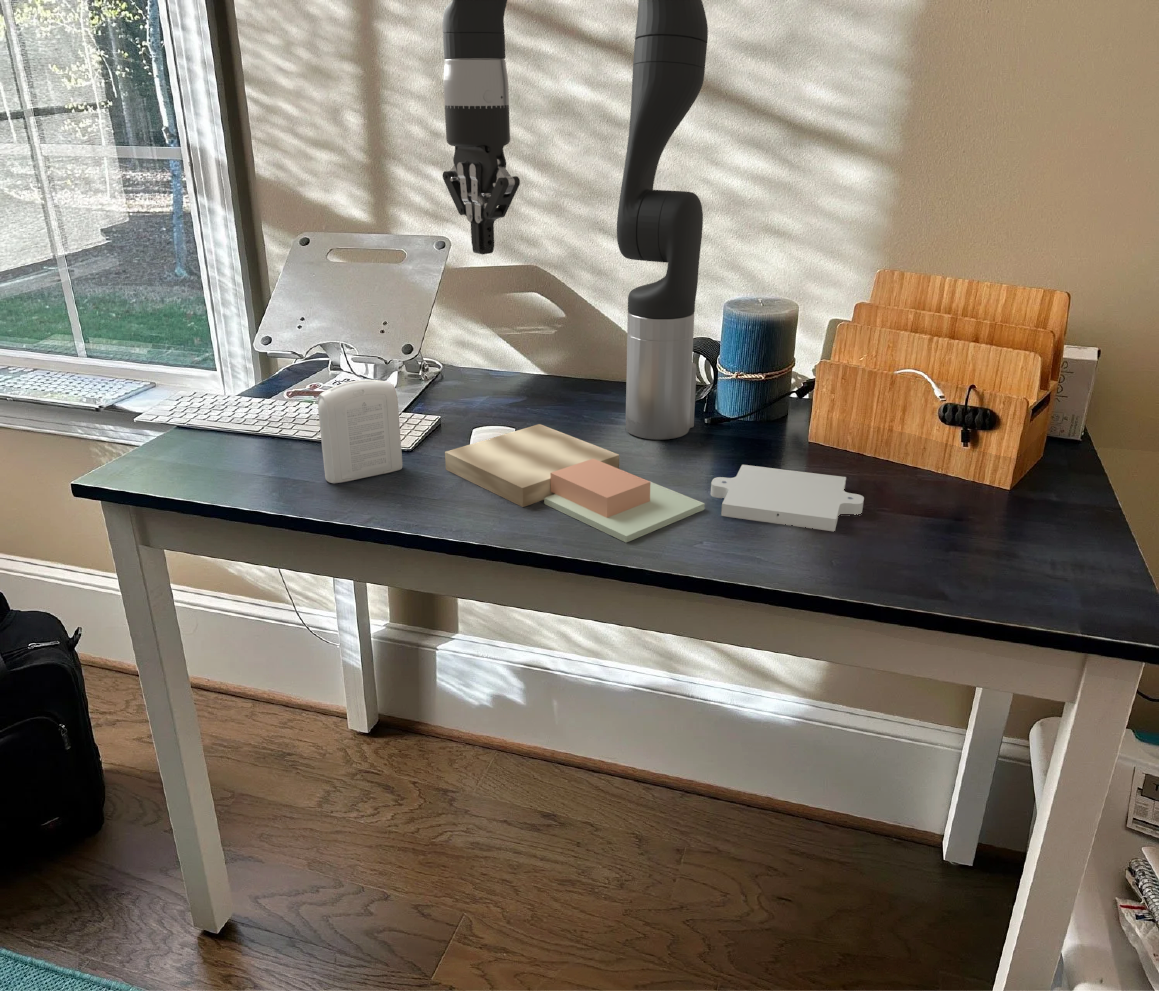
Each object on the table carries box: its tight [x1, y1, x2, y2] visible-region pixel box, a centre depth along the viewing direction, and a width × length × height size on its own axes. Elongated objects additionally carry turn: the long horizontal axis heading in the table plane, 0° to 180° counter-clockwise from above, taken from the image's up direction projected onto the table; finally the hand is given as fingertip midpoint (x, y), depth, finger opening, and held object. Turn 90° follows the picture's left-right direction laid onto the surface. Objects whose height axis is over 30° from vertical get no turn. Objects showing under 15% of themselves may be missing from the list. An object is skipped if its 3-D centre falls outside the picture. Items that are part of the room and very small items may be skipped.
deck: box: [444, 423, 620, 508], centre depth 124 cm, size 16×16×2 cm
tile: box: [550, 459, 651, 518], centre depth 114 cm, size 7×10×2 cm
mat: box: [543, 477, 706, 543], centre depth 114 cm, size 13×14×1 cm
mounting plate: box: [710, 464, 865, 532], centre depth 115 cm, size 18×13×2 cm
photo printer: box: [317, 379, 403, 484], centre depth 121 cm, size 10×4×12 cm, turn 123°
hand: (483, 252), depth 118 cm, fingers closed
